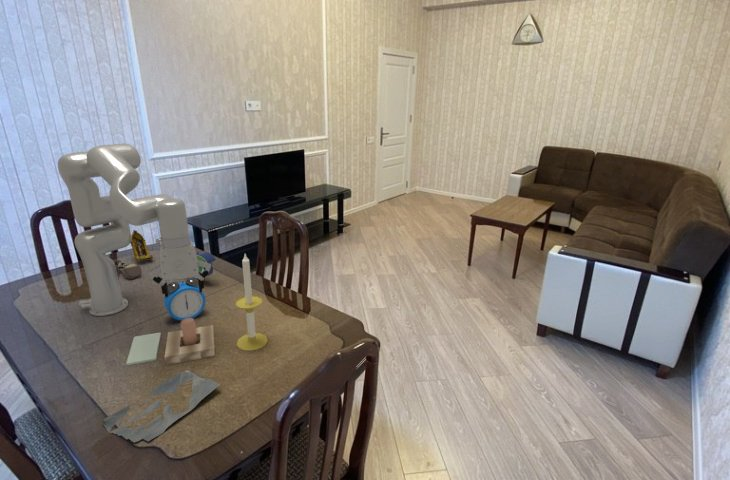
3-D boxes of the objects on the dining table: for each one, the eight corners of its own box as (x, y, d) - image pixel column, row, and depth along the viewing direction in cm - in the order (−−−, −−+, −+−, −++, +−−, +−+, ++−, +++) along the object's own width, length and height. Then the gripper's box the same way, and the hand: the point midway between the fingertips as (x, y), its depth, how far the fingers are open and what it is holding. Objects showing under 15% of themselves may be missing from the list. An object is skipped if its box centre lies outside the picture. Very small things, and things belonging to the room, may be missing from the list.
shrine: (129, 260, 192) (123, 231, 187) (146, 255, 198) (141, 227, 193) (140, 266, 185) (134, 237, 180) (157, 261, 191) (152, 232, 186)
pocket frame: (165, 365, 119) (164, 357, 118) (169, 340, 131) (168, 332, 130) (214, 356, 124) (213, 348, 123) (213, 332, 136) (212, 325, 135)
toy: (128, 256, 183) (139, 258, 173) (133, 272, 185) (144, 275, 175) (111, 260, 178) (122, 262, 168) (116, 277, 180) (127, 280, 170)
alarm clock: (170, 326, 139) (164, 288, 134) (166, 318, 143) (160, 281, 138) (207, 315, 147) (203, 279, 141) (202, 308, 151) (198, 273, 146)
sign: (168, 274, 184) (162, 247, 181) (176, 271, 187) (170, 245, 184) (212, 286, 164) (206, 256, 161) (220, 283, 167) (214, 253, 164)
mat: (126, 365, 118) (126, 363, 118) (134, 338, 131) (134, 336, 131) (156, 360, 121) (155, 358, 121) (160, 334, 134) (160, 332, 134)
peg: (184, 352, 125) (180, 325, 122) (185, 345, 128) (181, 319, 125) (198, 350, 126) (194, 323, 123) (198, 343, 130) (194, 317, 126)
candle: (241, 354, 125) (232, 261, 114) (233, 338, 133) (224, 250, 122) (271, 345, 130) (266, 255, 119) (262, 330, 138) (256, 245, 127)
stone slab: (136, 458, 90) (133, 451, 89) (101, 429, 98) (98, 422, 97) (221, 390, 109) (220, 384, 108) (186, 371, 117) (185, 365, 116)
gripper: (141, 248, 108) (151, 303, 114) (207, 241, 114) (214, 294, 120) (144, 240, 115) (154, 292, 121) (207, 234, 121) (213, 283, 127)
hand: (184, 293), depth 120 cm, fingers open, 9 cm apart
